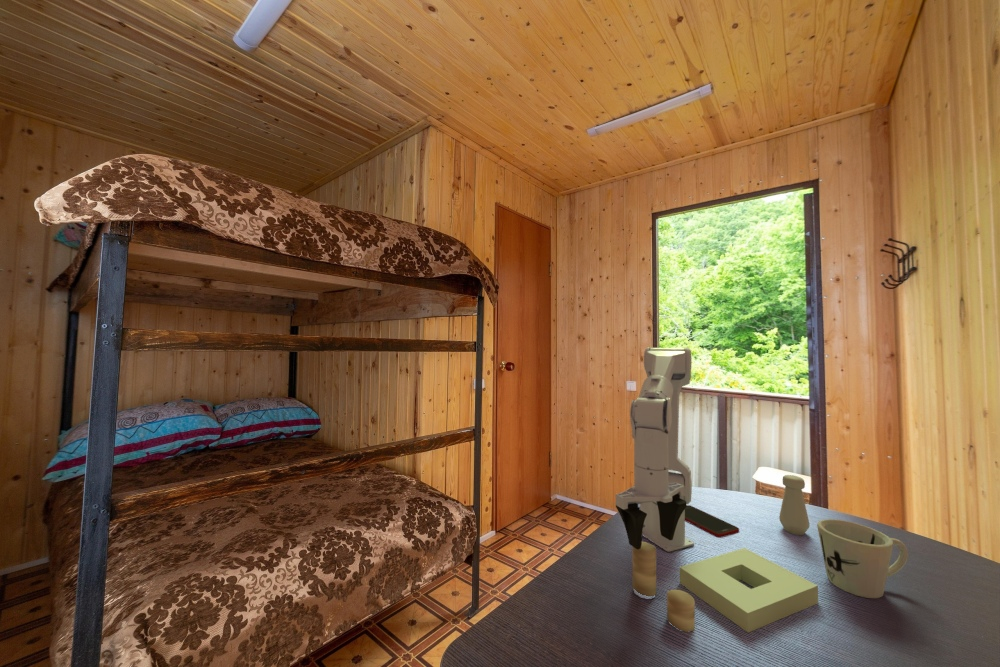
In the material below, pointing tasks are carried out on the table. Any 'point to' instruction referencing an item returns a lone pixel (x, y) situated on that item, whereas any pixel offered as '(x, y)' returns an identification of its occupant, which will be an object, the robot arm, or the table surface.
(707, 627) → the table surface
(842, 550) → the mug
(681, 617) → the short peg
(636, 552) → the tall peg
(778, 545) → the table surface
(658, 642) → the table surface
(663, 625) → the table surface
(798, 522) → the salt shaker
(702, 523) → the cell phone
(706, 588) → the hole board
